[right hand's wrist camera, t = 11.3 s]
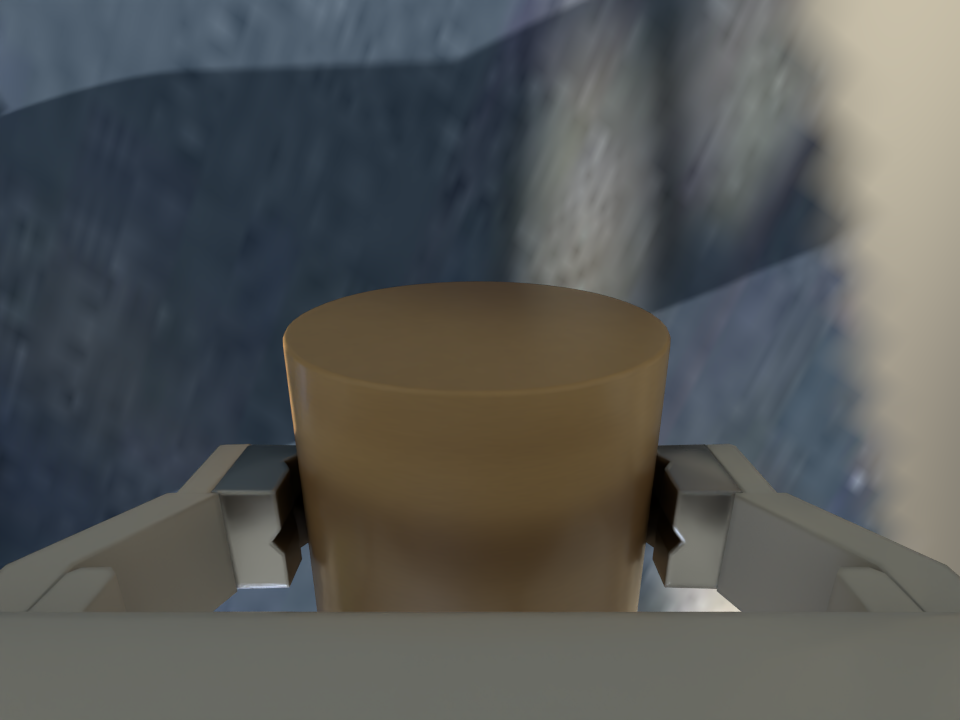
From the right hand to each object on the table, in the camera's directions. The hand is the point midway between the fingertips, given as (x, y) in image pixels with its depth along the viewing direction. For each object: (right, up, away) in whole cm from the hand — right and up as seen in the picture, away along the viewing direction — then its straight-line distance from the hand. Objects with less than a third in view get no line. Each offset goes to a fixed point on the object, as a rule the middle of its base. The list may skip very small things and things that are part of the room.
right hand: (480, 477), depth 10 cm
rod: (0, -8, +6) cm, 10 cm away
